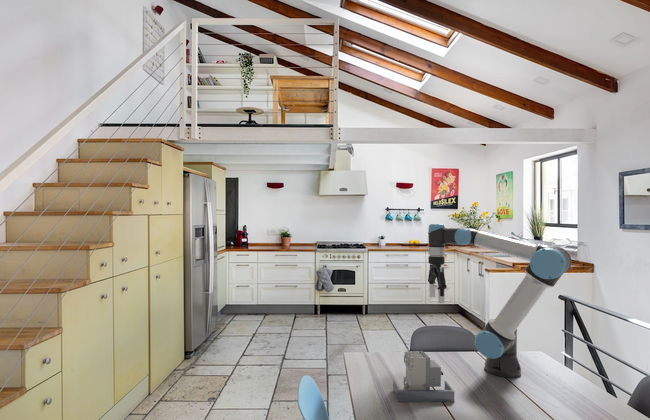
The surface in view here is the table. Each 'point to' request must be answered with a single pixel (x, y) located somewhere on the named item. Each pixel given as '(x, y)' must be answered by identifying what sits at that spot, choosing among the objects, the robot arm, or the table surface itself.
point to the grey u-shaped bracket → (424, 394)
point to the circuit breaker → (421, 371)
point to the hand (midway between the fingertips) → (436, 300)
